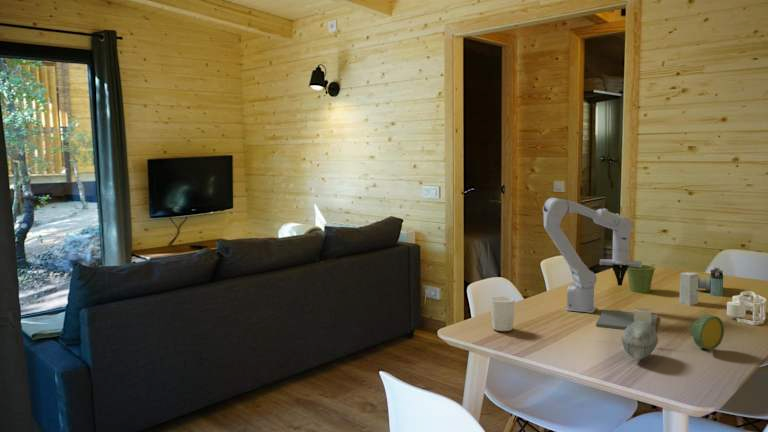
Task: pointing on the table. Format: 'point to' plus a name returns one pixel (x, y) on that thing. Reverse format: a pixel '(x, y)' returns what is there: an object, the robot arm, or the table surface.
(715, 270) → the camera
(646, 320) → the white drawer cabinet
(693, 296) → the skincare box
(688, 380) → the table surface
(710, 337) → the decorative artifact
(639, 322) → the grey rounded piece
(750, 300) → the skeletal toy car
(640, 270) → the plant pot
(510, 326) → the white cup
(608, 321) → the plate
